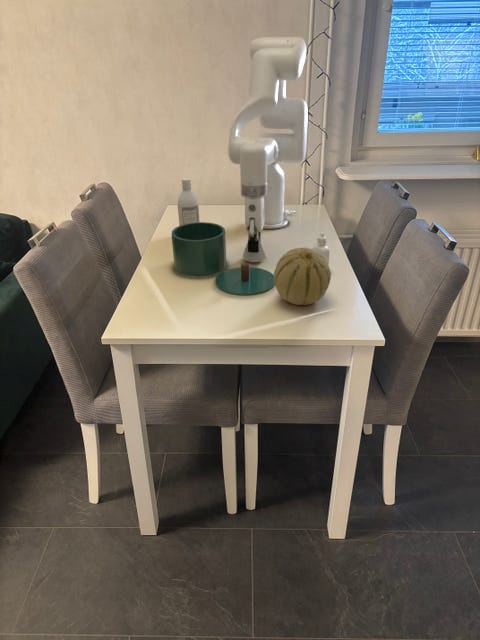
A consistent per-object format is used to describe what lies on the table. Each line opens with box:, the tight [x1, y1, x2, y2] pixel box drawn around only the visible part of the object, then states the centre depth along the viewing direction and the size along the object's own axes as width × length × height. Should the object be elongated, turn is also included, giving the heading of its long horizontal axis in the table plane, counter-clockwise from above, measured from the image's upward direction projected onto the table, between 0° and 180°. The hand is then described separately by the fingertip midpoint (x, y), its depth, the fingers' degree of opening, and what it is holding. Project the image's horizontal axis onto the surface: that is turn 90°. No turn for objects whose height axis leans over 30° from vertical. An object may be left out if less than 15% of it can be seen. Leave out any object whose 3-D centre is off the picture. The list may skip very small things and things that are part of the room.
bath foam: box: [177, 177, 200, 226], centre depth 169 cm, size 7×7×20 cm
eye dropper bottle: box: [312, 232, 330, 265], centre depth 144 cm, size 4×6×12 cm
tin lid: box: [214, 261, 276, 296], centre depth 140 cm, size 17×17×6 cm
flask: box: [242, 228, 267, 263], centre depth 151 cm, size 7×7×10 cm
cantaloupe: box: [273, 247, 332, 306], centre depth 128 cm, size 15×15×15 cm
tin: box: [171, 221, 227, 278], centre depth 149 cm, size 16×16×12 cm
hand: (254, 247), depth 152 cm, fingers closed on flask, 5 cm apart
